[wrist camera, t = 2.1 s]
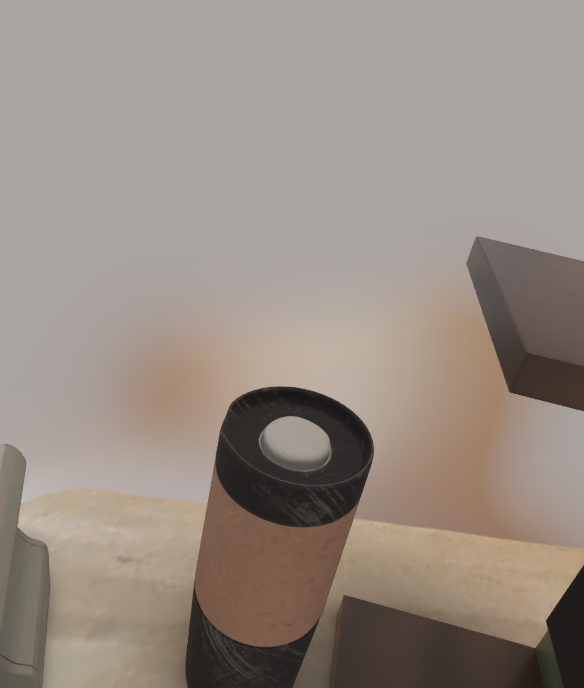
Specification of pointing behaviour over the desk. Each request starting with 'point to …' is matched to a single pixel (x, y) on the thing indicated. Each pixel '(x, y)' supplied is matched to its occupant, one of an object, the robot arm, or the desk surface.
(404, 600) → the desk surface
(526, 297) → the shelf
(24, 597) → the digital clock
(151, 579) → the desk surface
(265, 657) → the travel mug
